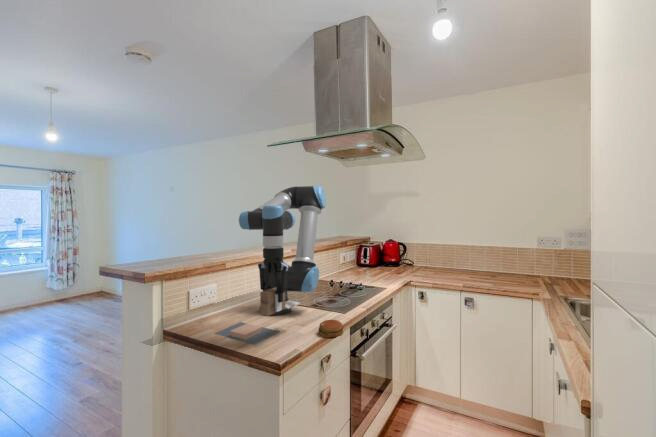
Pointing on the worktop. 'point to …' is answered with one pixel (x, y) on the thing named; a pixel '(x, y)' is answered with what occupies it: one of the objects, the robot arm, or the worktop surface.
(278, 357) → the worktop surface
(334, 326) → the burger
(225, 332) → the mat
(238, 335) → the teal and beige block
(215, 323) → the worktop surface
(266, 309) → the brown wooden block
